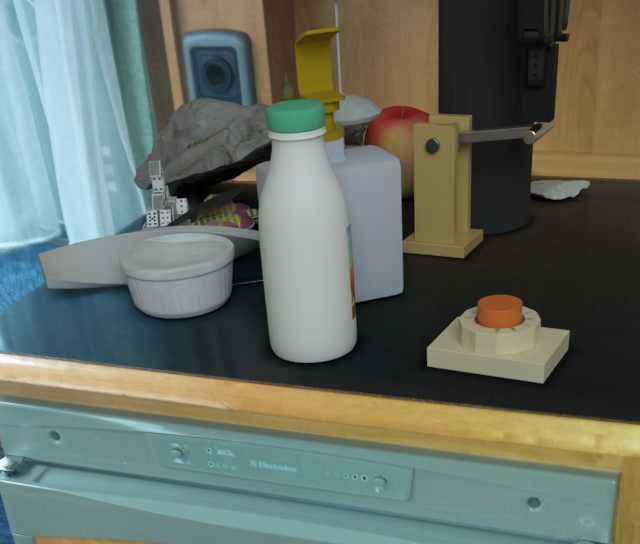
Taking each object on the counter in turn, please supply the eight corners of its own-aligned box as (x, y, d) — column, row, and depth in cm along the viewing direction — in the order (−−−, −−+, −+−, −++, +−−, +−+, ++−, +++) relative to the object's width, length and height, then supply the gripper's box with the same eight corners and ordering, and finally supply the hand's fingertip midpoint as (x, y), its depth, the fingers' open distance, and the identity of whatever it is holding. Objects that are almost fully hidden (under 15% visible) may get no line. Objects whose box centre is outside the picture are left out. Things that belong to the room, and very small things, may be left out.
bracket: (483, 240, 109) (486, 114, 101) (463, 258, 105) (465, 128, 97) (423, 235, 112) (422, 111, 104) (401, 252, 108) (398, 125, 100)
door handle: (303, 255, 106) (290, 264, 110) (294, 206, 105) (282, 216, 110) (49, 293, 99) (47, 300, 103) (37, 240, 98) (36, 249, 103)
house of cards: (215, 238, 115) (205, 169, 111) (140, 243, 116) (128, 174, 111) (222, 215, 123) (214, 148, 118) (152, 219, 123) (141, 153, 119)
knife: (209, 290, 103) (208, 287, 103) (209, 285, 104) (208, 282, 104) (305, 279, 103) (304, 276, 103) (303, 274, 104) (303, 271, 104)
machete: (247, 186, 112) (250, 192, 113) (237, 177, 114) (239, 182, 115) (133, 257, 111) (136, 262, 112) (125, 246, 113) (128, 251, 114)
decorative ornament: (272, 233, 108) (181, 254, 108) (275, 252, 110) (186, 273, 109) (250, 181, 121) (169, 200, 120) (253, 199, 122) (173, 217, 122)
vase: (529, 235, 109) (546, -94, 92) (435, 236, 111) (435, -86, 93) (528, 206, 117) (544, -101, 100) (441, 208, 119) (442, -94, 102)
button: (527, 317, 83) (528, 296, 82) (513, 333, 81) (514, 313, 80) (486, 312, 85) (486, 292, 84) (470, 328, 82) (471, 308, 81)
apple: (348, 199, 124) (344, 112, 118) (401, 181, 129) (399, 97, 123) (405, 213, 118) (403, 122, 112) (458, 193, 123) (459, 105, 117)
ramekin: (234, 276, 105) (228, 225, 102) (246, 315, 96) (240, 260, 93) (127, 290, 104) (117, 239, 101) (128, 331, 95) (118, 276, 92)
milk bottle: (350, 366, 85) (335, 113, 74) (262, 365, 87) (234, 117, 75) (363, 329, 91) (351, 91, 80) (280, 329, 93) (257, 95, 81)
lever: (555, 135, 99) (554, 109, 98) (536, 150, 95) (535, 123, 94) (442, 144, 105) (440, 120, 104) (420, 159, 101) (417, 134, 100)
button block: (568, 349, 85) (571, 309, 83) (543, 383, 80) (545, 342, 78) (457, 334, 89) (457, 296, 87) (426, 366, 84) (426, 327, 82)
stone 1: (265, 157, 109) (252, 57, 106) (115, 199, 128) (101, 115, 125) (356, 158, 119) (346, 66, 116) (204, 196, 138) (192, 119, 136)
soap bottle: (286, 318, 94) (260, 41, 81) (266, 295, 100) (238, 31, 86) (406, 295, 97) (400, 22, 83) (380, 274, 102) (371, 14, 89)
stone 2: (522, 189, 122) (523, 172, 121) (584, 185, 122) (586, 168, 120) (528, 208, 118) (529, 191, 117) (592, 203, 118) (594, 186, 116)
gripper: (535, -184, 89) (522, 103, 103) (484, -180, 80) (477, 135, 94) (621, -191, 86) (595, 106, 100) (578, -188, 77) (556, 138, 91)
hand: (538, 120), depth 97 cm, fingers closed
